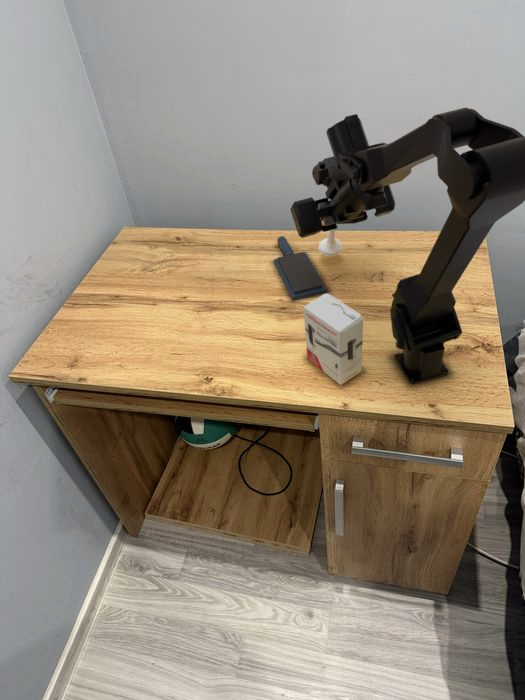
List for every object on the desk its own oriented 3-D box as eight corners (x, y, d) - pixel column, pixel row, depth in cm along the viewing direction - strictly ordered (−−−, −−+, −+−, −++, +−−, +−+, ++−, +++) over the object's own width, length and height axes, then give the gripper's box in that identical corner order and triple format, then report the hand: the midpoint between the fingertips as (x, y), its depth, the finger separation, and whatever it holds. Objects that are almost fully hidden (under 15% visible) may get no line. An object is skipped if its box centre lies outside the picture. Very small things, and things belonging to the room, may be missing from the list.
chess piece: (329, 236, 105) (332, 197, 97) (347, 247, 103) (352, 208, 95) (313, 248, 103) (315, 210, 95) (332, 260, 101) (335, 221, 93)
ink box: (305, 359, 85) (301, 304, 76) (327, 345, 86) (326, 290, 78) (340, 386, 79) (340, 331, 71) (362, 371, 81) (365, 315, 73)
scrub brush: (327, 292, 97) (326, 283, 96) (292, 300, 96) (291, 292, 95) (295, 239, 112) (295, 231, 111) (265, 245, 111) (265, 238, 110)
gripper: (391, 134, 85) (360, 173, 101) (290, 159, 82) (273, 195, 97) (412, 195, 85) (377, 225, 100) (310, 223, 82) (291, 249, 97)
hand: (330, 222), depth 99 cm, fingers closed on chess piece
